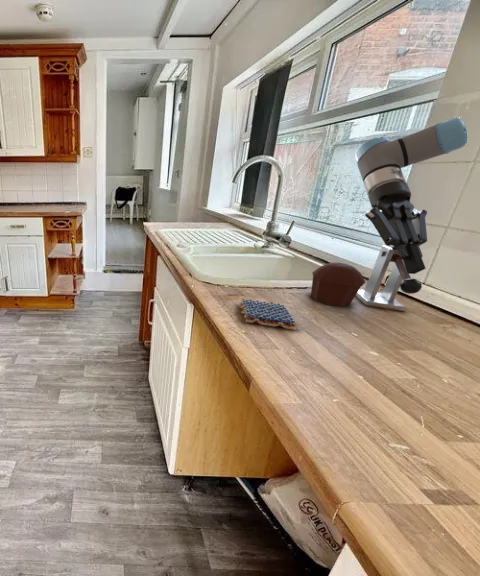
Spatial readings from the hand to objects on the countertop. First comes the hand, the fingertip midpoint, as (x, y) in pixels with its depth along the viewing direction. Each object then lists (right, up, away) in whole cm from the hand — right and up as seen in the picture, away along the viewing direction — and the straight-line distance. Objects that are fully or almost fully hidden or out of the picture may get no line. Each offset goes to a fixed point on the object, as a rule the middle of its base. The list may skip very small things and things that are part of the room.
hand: (416, 270), depth 70 cm
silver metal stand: (+4, -7, +14) cm, 16 cm away
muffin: (-9, -7, +13) cm, 18 cm away
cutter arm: (+2, -1, +6) cm, 7 cm away
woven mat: (-34, -11, +2) cm, 35 cm away
